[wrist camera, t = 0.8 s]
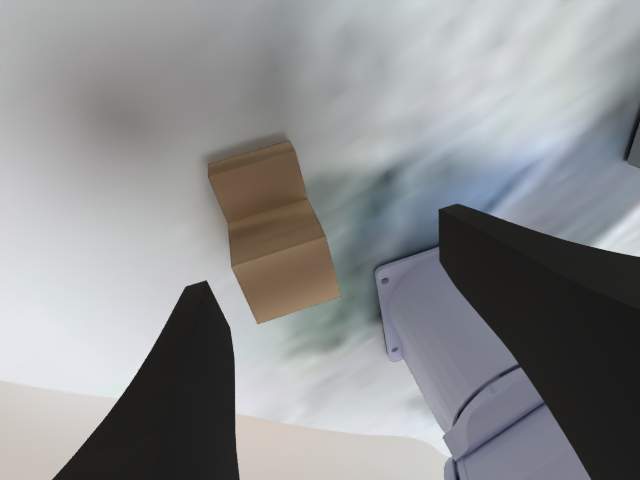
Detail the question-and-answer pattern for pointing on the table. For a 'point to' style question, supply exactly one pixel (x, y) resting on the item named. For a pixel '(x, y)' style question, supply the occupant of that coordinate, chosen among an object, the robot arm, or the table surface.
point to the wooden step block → (273, 232)
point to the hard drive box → (635, 151)
